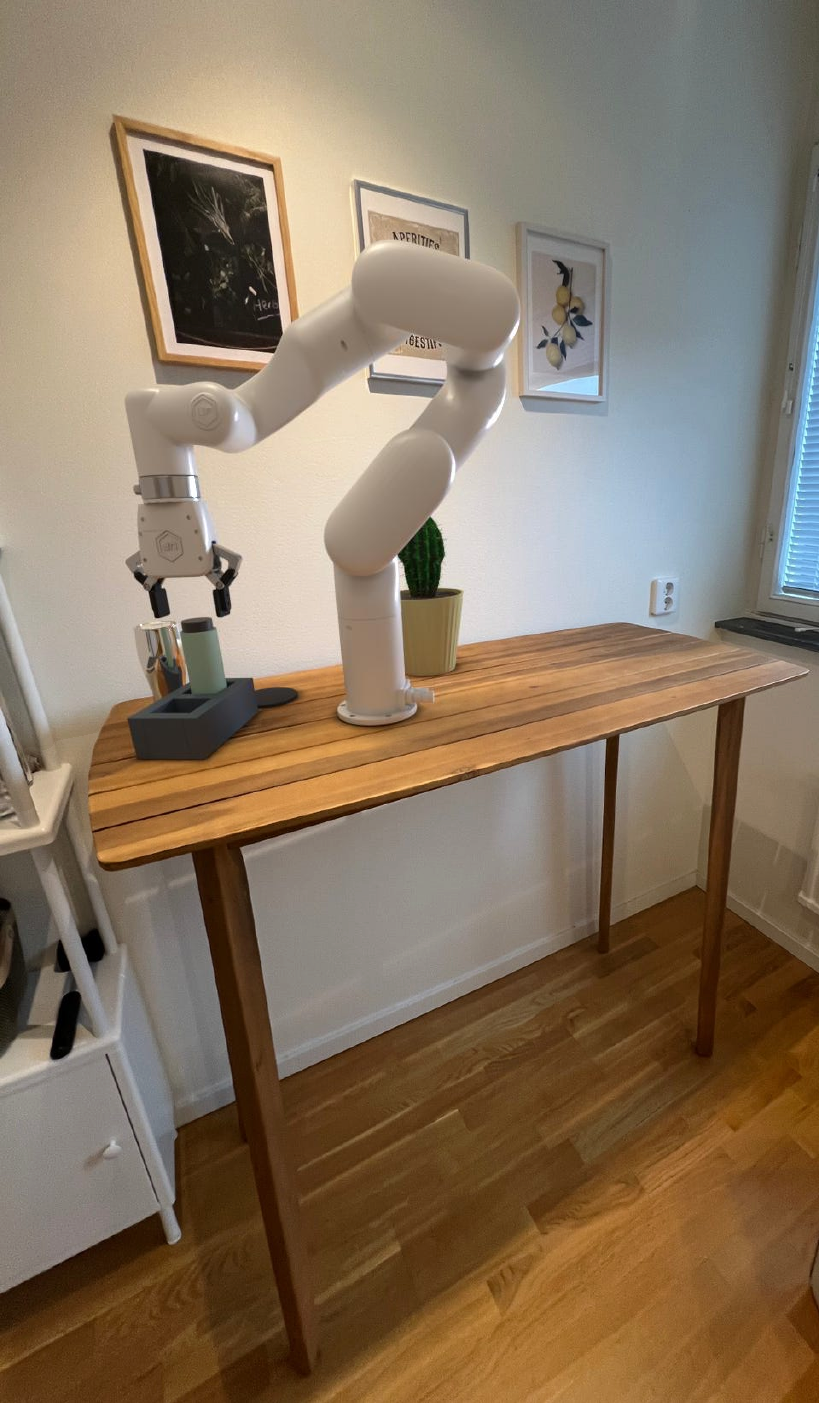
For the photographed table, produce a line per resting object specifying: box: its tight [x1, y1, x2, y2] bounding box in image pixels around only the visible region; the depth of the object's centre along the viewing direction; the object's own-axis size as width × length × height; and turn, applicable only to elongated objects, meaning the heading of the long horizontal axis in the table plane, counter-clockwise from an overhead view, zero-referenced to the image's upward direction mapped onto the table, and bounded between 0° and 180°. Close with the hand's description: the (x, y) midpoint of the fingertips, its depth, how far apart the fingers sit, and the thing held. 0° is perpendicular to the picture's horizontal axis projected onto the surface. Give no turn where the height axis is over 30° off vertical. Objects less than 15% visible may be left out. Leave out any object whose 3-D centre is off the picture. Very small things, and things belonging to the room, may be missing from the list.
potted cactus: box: [398, 515, 464, 677], centre depth 105 cm, size 15×15×30 cm
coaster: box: [255, 686, 299, 709], centre depth 97 cm, size 10×10×1 cm
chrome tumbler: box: [133, 620, 187, 703], centre depth 90 cm, size 7×7×15 cm
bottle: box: [179, 616, 227, 694], centre depth 84 cm, size 5×5×16 cm
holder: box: [126, 677, 259, 761], centre depth 82 cm, size 10×18×6 cm, turn 172°
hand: (193, 616), depth 81 cm, fingers open, 9 cm apart
